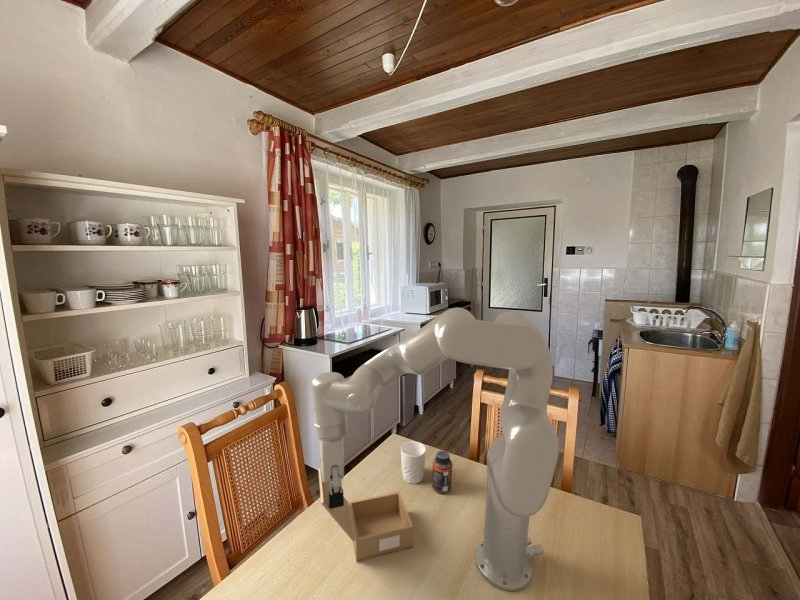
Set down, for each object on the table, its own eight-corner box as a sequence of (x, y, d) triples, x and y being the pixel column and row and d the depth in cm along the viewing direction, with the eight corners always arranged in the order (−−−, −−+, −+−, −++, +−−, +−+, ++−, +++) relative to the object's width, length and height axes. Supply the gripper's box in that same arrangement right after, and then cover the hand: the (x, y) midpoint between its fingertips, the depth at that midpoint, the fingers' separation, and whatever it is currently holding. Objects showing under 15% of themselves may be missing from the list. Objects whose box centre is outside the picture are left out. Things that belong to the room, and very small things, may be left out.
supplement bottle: (450, 496, 101) (452, 462, 99) (430, 493, 102) (431, 459, 100) (451, 482, 106) (453, 449, 104) (432, 479, 107) (434, 447, 105)
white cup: (399, 469, 112) (399, 441, 110) (422, 467, 113) (423, 440, 111) (401, 486, 104) (402, 457, 103) (427, 484, 105) (428, 455, 103)
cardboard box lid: (320, 467, 86) (318, 469, 86) (323, 501, 75) (321, 503, 75) (348, 502, 90) (346, 503, 90) (355, 539, 79) (353, 541, 79)
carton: (399, 510, 95) (399, 491, 94) (412, 547, 84) (413, 526, 83) (349, 521, 91) (349, 502, 90) (356, 562, 80) (356, 540, 79)
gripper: (313, 411, 86) (317, 471, 89) (315, 451, 69) (320, 523, 72) (342, 406, 88) (345, 465, 91) (352, 444, 71) (355, 515, 74)
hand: (334, 491), depth 81 cm, fingers open, 9 cm apart
